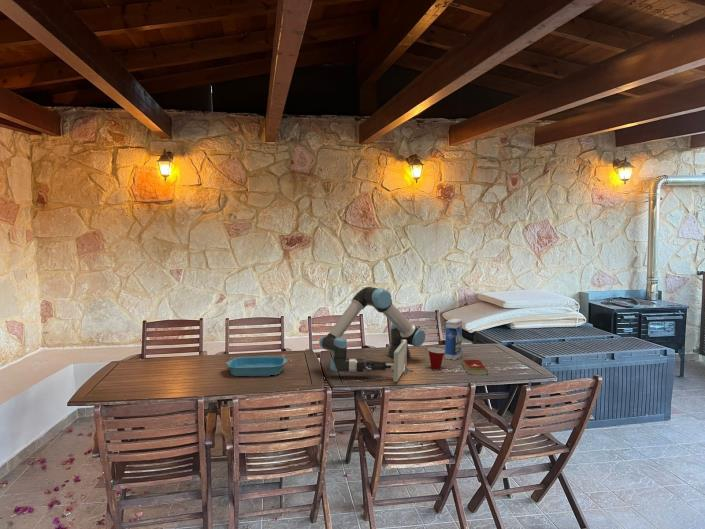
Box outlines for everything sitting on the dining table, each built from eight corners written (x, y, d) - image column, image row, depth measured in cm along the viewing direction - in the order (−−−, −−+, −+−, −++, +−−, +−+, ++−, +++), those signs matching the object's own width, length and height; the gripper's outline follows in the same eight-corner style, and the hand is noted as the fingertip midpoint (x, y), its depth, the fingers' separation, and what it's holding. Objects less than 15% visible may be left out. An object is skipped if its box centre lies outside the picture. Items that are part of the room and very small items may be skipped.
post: (394, 371, 290) (394, 339, 288) (402, 368, 295) (403, 337, 294) (404, 374, 284) (404, 342, 283) (412, 371, 290) (413, 340, 288)
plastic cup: (444, 371, 290) (445, 352, 289) (427, 370, 292) (427, 351, 291) (445, 366, 301) (445, 347, 300) (427, 365, 303) (428, 346, 302)
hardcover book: (479, 365, 305) (480, 359, 305) (487, 375, 284) (487, 368, 284) (461, 365, 305) (461, 358, 305) (467, 375, 284) (467, 368, 284)
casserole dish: (222, 378, 274) (222, 366, 273) (230, 367, 296) (229, 356, 296) (286, 377, 276) (286, 366, 276) (288, 366, 299) (288, 355, 298)
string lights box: (455, 360, 314) (456, 322, 312) (444, 358, 318) (445, 321, 316) (461, 356, 325) (462, 319, 323) (451, 354, 329) (451, 318, 327)
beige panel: (401, 369, 288) (401, 342, 286) (404, 370, 287) (405, 343, 286) (393, 381, 266) (393, 352, 264) (397, 381, 265) (397, 352, 264)
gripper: (357, 368, 283) (396, 369, 282) (355, 375, 270) (397, 376, 268) (357, 355, 283) (396, 357, 281) (355, 362, 269) (397, 363, 268)
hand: (396, 366), depth 275 cm, fingers closed
